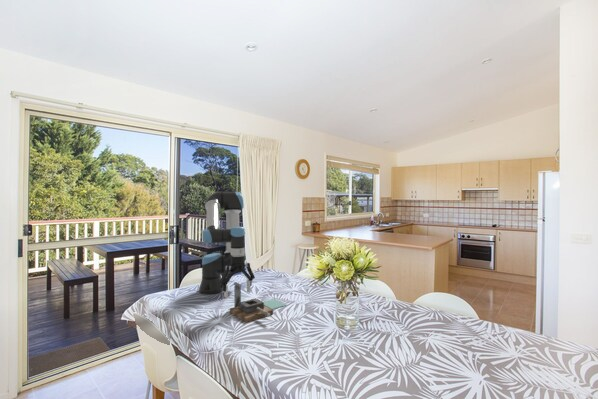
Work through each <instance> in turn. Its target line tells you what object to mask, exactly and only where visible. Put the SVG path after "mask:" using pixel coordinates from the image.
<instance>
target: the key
mask: <svg viewBox="0 0 598 399" xmlns="http://www.w3.org/2000/svg"><path fill="white" fill-rule="evenodd" d="M233 287H234V293H233V295H234V297H233V298H234V306H233V308H234V307H238V306H239V303H240V302H242V301H241V300H242V294H241V293H242V290H241V289H242V284H240V283H239V282H235V281H234V282H233Z"/></svg>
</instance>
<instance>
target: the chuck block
mask: <svg viewBox="0 0 598 399" xmlns="http://www.w3.org/2000/svg"><path fill="white" fill-rule="evenodd" d="M264 302H265V301H261V300H260V299H257V298H256V297H255V298H253V299H252V298H251V299H248V300H245V301H241V302H240V303H239V306H238V307H234V306H233V307H230V308H229V313H230V314H232V315H233V316H235V317H237V318H239V319H240V320H242V321H243V322H244V323H248V322H251V321H254V320H257V319H261V318H263V317H264V318H265V317H270V316H271V315H274V309H273V310H272V309H270V308H268V307H266V306H264Z"/></svg>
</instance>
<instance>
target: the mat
mask: <svg viewBox="0 0 598 399" xmlns="http://www.w3.org/2000/svg"><path fill="white" fill-rule="evenodd" d="M263 302H264V306H266V307H268V308H270V309H272V310H273V311H274V310H276V309H279V308H283V307H286V306H287V304H286V303H285V302H282V301H279V300H277V299H276V298H273V299H269V300H265V301H263Z"/></svg>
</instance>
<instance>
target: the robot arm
mask: <svg viewBox="0 0 598 399" xmlns="http://www.w3.org/2000/svg"><path fill="white" fill-rule="evenodd" d="M204 208H205V210H206V219H205V220H206V224H205V226H206V228H205V229H203V230H202V242H203V244H221V243H226V249H225V251H224V252H223V253H224V254H221V253H220V252H215V253H209V254H206V255H204V256H203V257H202V259H201V265H202V266H201V282H200V285H199V288H198V292H199V293H200V294H204V295H213V294H218V293H222V292H224V293H223V297H224V298H226V299H228V298H229V285H228V283H229V282H230V280H231V279H232V277H233V276H234V275H235V274H239V273H242V274H243V275H244V276H245V277H246V279H247V280H246V292H247V293H249V294H251V286H252V285H253V280H255V277H256V276H255V274H254V273H253V270H252V268H251V263H249V262H246V260H245V259H246V258H245V257H246V256H245V254H246V253H245V252H246V248H245V247H246V246H245V244H246V243H245V242H246V240H245V236H246V230H245V227H243V226H240V213H242V210H243V209H244V197H243V194H242V193H241V192H240V191H216V192H213V193H212V194H210V195H209V196H208V197H207V199H206V200H205V203H204ZM220 210H223V212H224V213H225V216H226V220H225V221H226V223H225V224H226V228H225V229H224V228H223V229H222V228H221V227H220V225H221V224H220ZM220 228H221V229H220ZM245 268H246V269H245ZM221 275H222V276H221Z"/></svg>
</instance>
